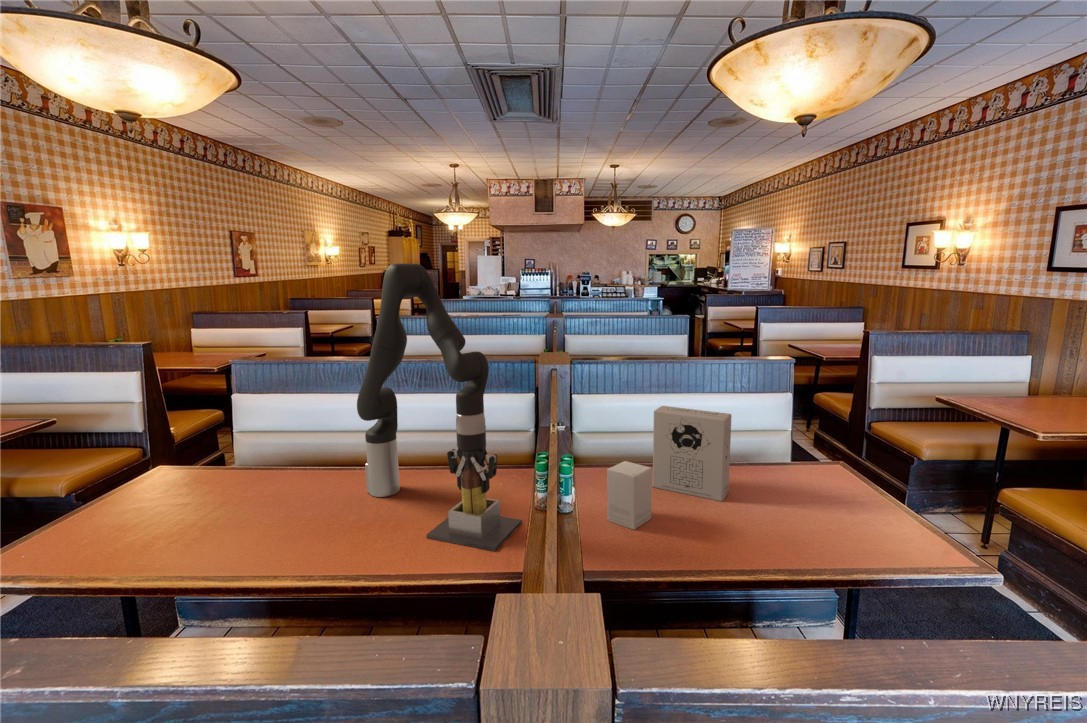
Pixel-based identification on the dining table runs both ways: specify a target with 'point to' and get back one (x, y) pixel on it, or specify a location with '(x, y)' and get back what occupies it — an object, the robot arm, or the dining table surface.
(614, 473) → the supplement box
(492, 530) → the condiment holder
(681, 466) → the cereal box
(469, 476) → the sauce bottle
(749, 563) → the dining table surface
